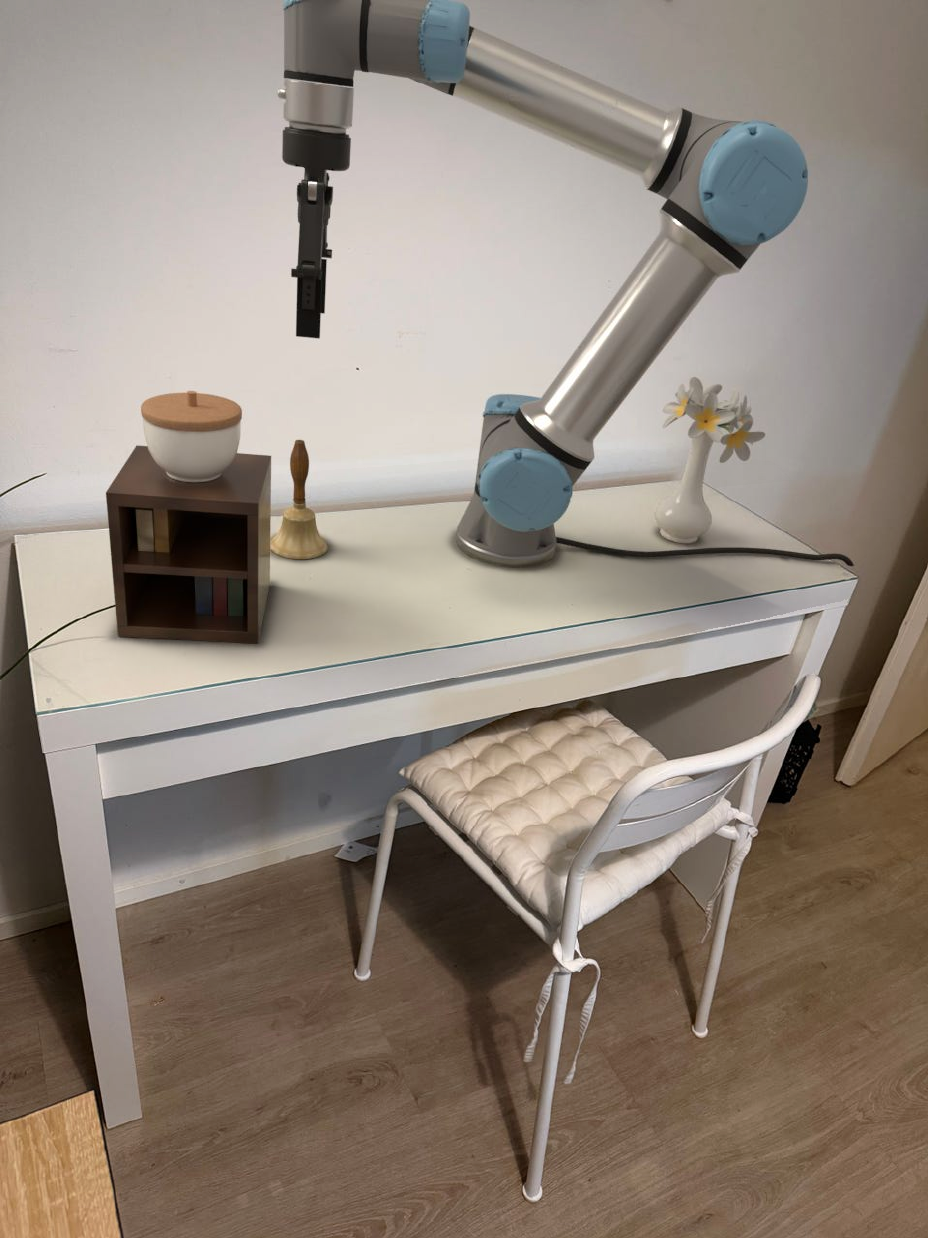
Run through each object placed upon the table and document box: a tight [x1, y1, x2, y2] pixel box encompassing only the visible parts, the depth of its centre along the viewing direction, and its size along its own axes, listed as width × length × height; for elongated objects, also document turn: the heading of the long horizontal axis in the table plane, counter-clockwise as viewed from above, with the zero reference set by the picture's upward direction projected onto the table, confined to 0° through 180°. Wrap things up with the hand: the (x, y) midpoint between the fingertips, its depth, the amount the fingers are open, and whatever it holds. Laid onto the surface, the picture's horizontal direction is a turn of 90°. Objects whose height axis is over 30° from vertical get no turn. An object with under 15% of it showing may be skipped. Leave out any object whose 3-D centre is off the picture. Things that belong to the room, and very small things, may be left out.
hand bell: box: [270, 439, 329, 560], centre depth 128 cm, size 8×8×16 cm
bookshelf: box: [105, 444, 272, 644], centre depth 109 cm, size 16×15×18 cm
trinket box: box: [140, 390, 243, 482], centre depth 103 cm, size 11×11×9 cm
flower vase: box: [654, 376, 766, 544], centre depth 146 cm, size 13×18×25 cm
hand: (311, 323), depth 112 cm, fingers open, 13 cm apart
